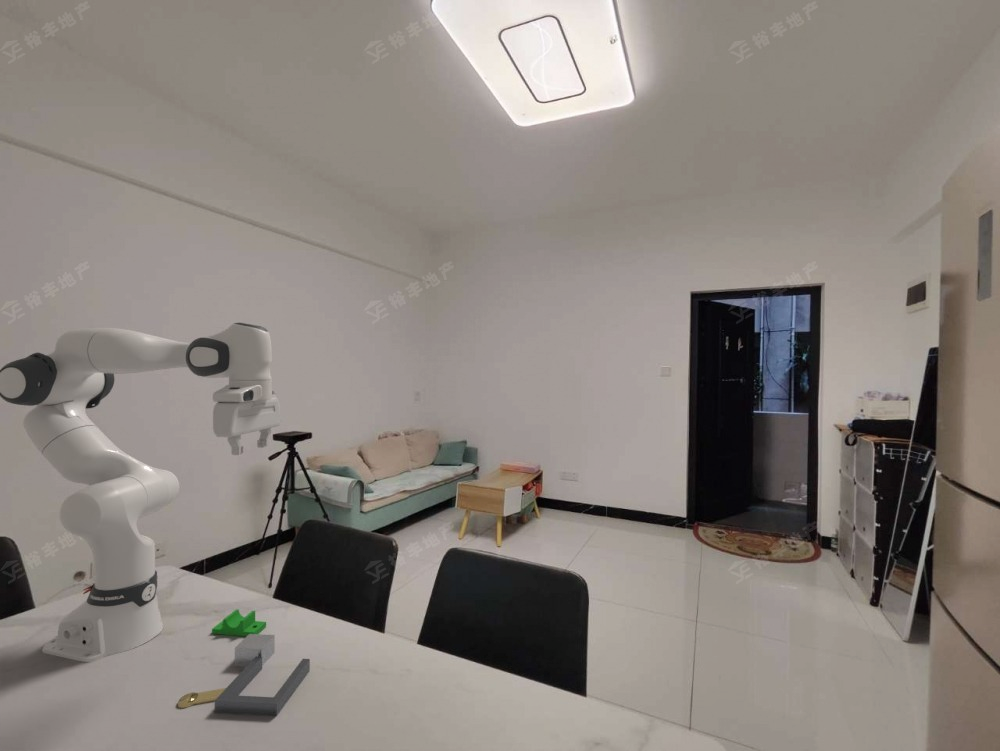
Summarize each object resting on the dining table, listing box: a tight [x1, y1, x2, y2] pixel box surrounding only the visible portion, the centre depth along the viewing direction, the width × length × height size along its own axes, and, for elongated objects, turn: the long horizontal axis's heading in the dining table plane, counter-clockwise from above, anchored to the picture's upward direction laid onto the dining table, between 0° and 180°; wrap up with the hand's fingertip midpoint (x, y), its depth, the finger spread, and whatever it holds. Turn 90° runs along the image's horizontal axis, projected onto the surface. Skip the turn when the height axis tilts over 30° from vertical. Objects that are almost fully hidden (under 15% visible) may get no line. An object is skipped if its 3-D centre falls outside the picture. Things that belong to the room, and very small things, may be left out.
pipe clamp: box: [211, 608, 267, 637], centre depth 107 cm, size 11×4×5 cm
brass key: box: [177, 687, 227, 709], centre depth 84 cm, size 8×3×1 cm, turn 107°
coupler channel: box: [214, 657, 311, 717], centre depth 87 cm, size 12×12×3 cm
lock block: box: [234, 633, 276, 668], centre depth 96 cm, size 6×5×4 cm
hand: (250, 450), depth 102 cm, fingers open, 8 cm apart
